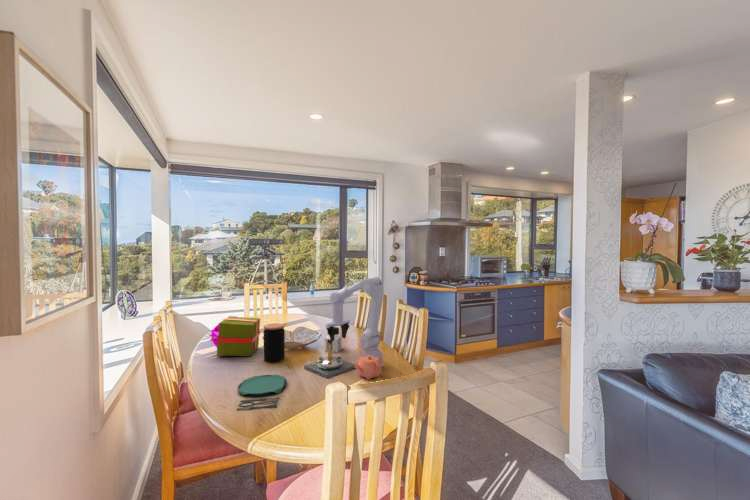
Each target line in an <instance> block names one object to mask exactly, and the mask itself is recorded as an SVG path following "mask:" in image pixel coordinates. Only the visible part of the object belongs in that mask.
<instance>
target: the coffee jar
mask: <svg viewBox="0 0 750 500" xmlns="http://www.w3.org/2000/svg"><path fill="white" fill-rule="evenodd" d="M284 327H285V324H284V323H280V322H279V323H278V322H277V323H269V324H267V323H266V324H264V325H263V329H264V330H263V359H264V361H265V362H267V363H278V362H281V361H283V360H284V359H285V357H286V352H285V349H286V348H285V347H286V346H285V343H286V341H285V338H286V337H285V328H284Z"/></svg>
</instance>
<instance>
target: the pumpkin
mask: <svg viewBox="0 0 750 500" xmlns="http://www.w3.org/2000/svg"><path fill="white" fill-rule="evenodd" d="M357 361H358V362H357V363H356V364H355V366H354V367H355V368H354V369H356V371H357V374H358V375H360V376H359V378H366V381H371V380H372V378H377V377H378V378H379V376H381V375H382V372H383V371H382V367H381V357H379V356H378V357H373V356H371V355H368V356H365V357H363V356H362V355H360V356H359V357H358V360H357Z"/></svg>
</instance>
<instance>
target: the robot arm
mask: <svg viewBox="0 0 750 500" xmlns="http://www.w3.org/2000/svg"><path fill="white" fill-rule="evenodd" d="M383 286H384V283H383V282H382V279H380V277H378V276H375V277H369V278H363V279H359V281H357V282H356V283H354V284H353V285H351V286H348V285H344V286H343V287H342V288H341V289H338V290H337V291H333V292H331V293H330V296H329V300H330V302H331V303H332V307H331V308H332V309H331V310H332V322H329V323H326V324H325V329H326V332H327V334H328V333H329V335H330V339H331V341H334V333H335V328H333V327H339V326H340V329H341V336H342V339H346V337H347V333H348V330H349V328H350V320H349V319H346V320H345V319H344V304H345V303H344V302H345V300H347V299H348V298H350V297H352V296H353V295H354V293H355V292H357V291H360V290H362V291H363V292H364V293H366V295H368V296H369V297H370V298H371V301H370V307H369V312H368V318H367V324H366V328H365V330H364V331H363V332H362V336H361V337H360V339H359V344H360V347H361V349H362V352H363V353H362V355H363V356H362V357H365V356H368V355H371V356H373V357H378V356H379V357H381V368H382V367H384V364H383V352H382V351H381V350H380V349H379V345H380V344H381V340H382V339H381V332H380V331H379V329H378V328H379V324H380V319H381V311H382V306H383V301H384V292H383Z"/></svg>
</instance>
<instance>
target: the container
mask: <svg viewBox="0 0 750 500" xmlns="http://www.w3.org/2000/svg"><path fill="white" fill-rule="evenodd" d="M333 328H335V333H334V341H331V339H330V335H329V333H328V332H327V336H326V337H324V352H328V347H329V344H333V353H339V351H340V350H342V348H343V347H342V345H343V344H342V343H343V341H342V339H343V338H342V334H341V335H340V328H339V326H335V327H333Z"/></svg>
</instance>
